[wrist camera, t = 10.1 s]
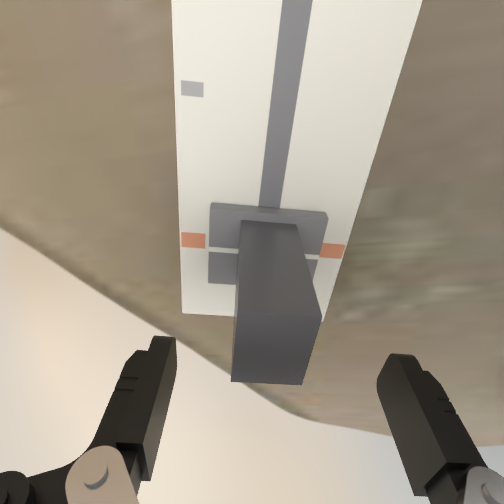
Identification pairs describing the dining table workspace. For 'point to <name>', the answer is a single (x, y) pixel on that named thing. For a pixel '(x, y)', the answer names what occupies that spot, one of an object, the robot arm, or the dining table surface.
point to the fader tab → (268, 287)
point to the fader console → (279, 117)
